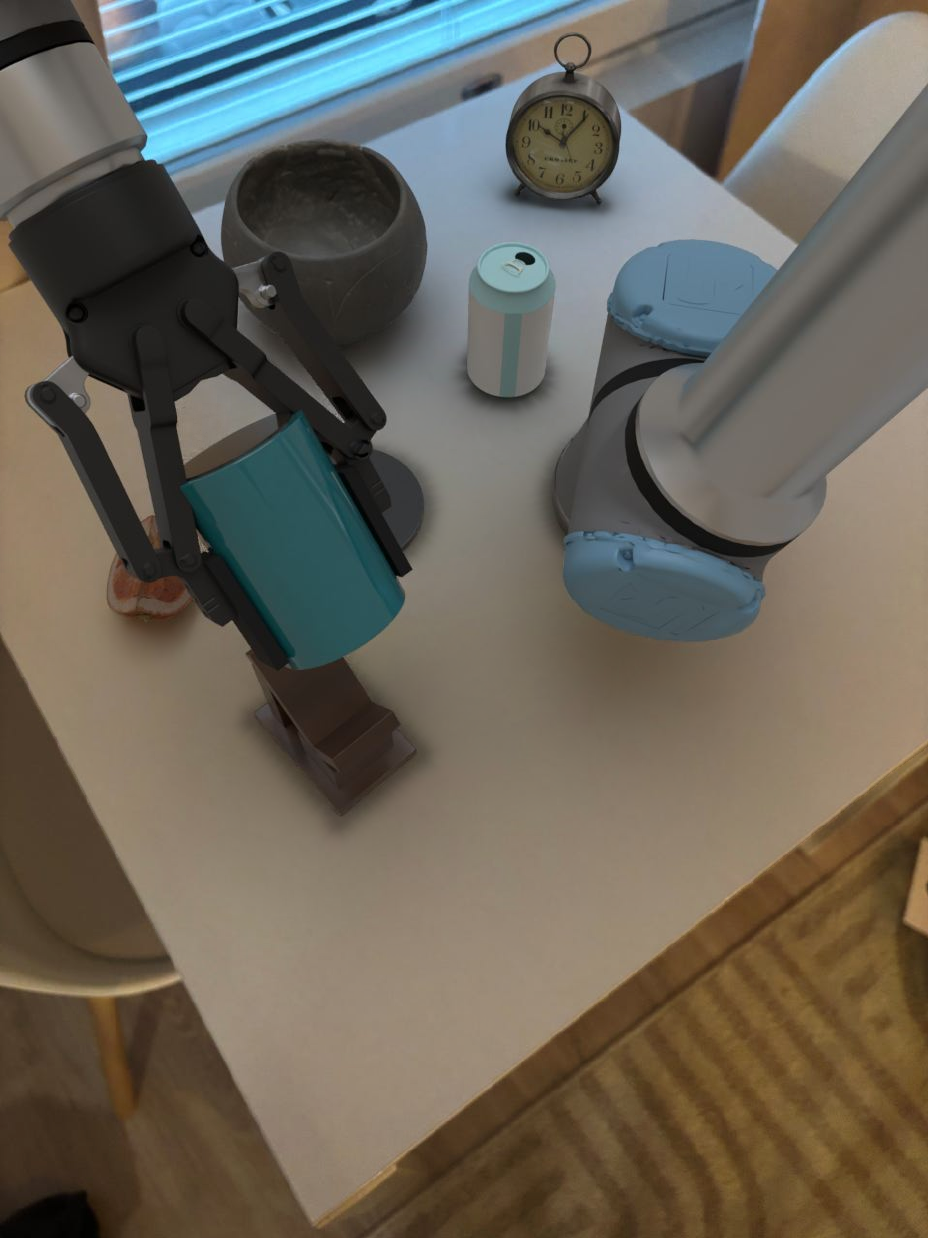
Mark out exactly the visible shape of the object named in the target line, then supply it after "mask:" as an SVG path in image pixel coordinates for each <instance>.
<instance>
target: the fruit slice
mask: <svg viewBox="0 0 928 1238" xmlns="http://www.w3.org/2000/svg"><path fill="white" fill-rule="evenodd" d="M140 522H141V524H142V526H143V528H144V530H145V532H146V534H147V536H148V538H149V540H150V542H151V544H152V547H153V549H157V548H161V543H160V539H159V534H158V529H157V524H156V519H155V514H151V515H149V516H147V517H145V519H143V520H140ZM192 600H193V599H192V597H191V596H190V594H189V593H188V591H187V590H186V589H185V587H184V586H183V584H182V583H181V581H180V580H179V579H178V577H177V576H168V577H165V578H161V579H158V580H157V581H155V582H152V583H145V582H143V581H141V580H139V579H137V578H135V577H133V576H131V575H130V574H128V573H127V572H126V570H125V568H124V566H123V564H122V562H121V560H120V558H119V556H118V554H117V552H115V555H114V558H113V560H112V563H111V566H110V569H109V573H108V577H107V583H106V602H107V606H108V607H109V609H111V611H113V612H114V613H116V614H119V615H123V616H125V617H129V618H133V619H137V620H144V621H145V622H146V623H147V622H148V621H164V620H167V619H170V618H171V617H173V616H175V615H177V614H178V613H180V612H181V611H182V610H184V609H185V608H186V607H187V606H188V605H189V604H190V602H191V601H192Z"/></svg>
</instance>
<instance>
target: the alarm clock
mask: <svg viewBox="0 0 928 1238" xmlns="http://www.w3.org/2000/svg"><path fill="white" fill-rule="evenodd" d="M571 37H577V38H580V39H581V40H582V41H584V43H585V44H586V46H587V56H586V57H585V59H584V61H582V62H581V63H579V64H577V65H576V64H575V63H574V62H572V61H568V62H567V63H564V62H563V61H561V60H560V59H559V56H558V48H559V45H560V44H561V42H563V40H565V39H566V38H571ZM553 55H554V59H555V61H557V63H558V64H559V65H560V66H561V67H562V68H564V70H565V71H556V72H552V73H551V72H550V73H548V74H545V75H542V76H541V77H539V78H537V79H536V80H534V81H533V82H531V83H530V84H528V86H526V87H525V89H524V90H523V91H522V92H521V94H520V95H518V98H517V100H516V102H515V103H514V105H513V108H512V111H511V114H510V118H509V123H508V127H507V131H506V135H505V145H504V146H505V147H504V148H505V155H506V159H507V163H508V165H509V168H510V169H511V171H512V173H513V175H514V177H515V178H516V179H517V181H519V183H520V184H519V185H518V187H517V188H516V189H514V190H513V195H514V196H515V197H519V196H520V194H521V192H522V191H524V190H525V189H527V190H528V191H530V192H532V193H533V194H535V195H537V196H539V197H541V198H544V199H549V200H553V201H572V200H577V199H581V198H584V197H586V196H588V195H590V196H591V197H592V198H593V199H594V200H595V204H596V205H597V206H601V205H602V203H603V200H602V198H601V197H600V196H599V193H598V191H597V190H598V189H600V187H602V186H603V185H604V184H605V183H606V182H607V181H608V179H609V178H610V177H611V176H612V173H613V172H614V170H615V168H616V165H617V162H618V160H619V154H620V144H621V137H622V118H621V113H620V109H619V106H618V104H617V103H616V100H615V98H614V97H613V95H612V94H611V93H610V91H609V90H608V89H607V88H606V87H605V86H604V85H603V84H602V83H601V82H600V81H598V80H596V78H593V77H591V76H589V75H587V74H583V73H580V72H576V70H577V69H581V68H583V67H584V66H586V64H587V63H588V62H589V60H590V58H591V55H592V45H591V42H590V40H589V39H588V37H586V36H585V35H584V34H582V33H580V32H576V31H571V32H566V33H564V34H562V35H561V36H560V37H559V38H558V39H557V40H556V41H555V42H554V46H553Z"/></svg>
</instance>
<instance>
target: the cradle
mask: <svg viewBox="0 0 928 1238" xmlns="http://www.w3.org/2000/svg"><path fill="white" fill-rule="evenodd" d="M244 655H245V656H246V657H247V659H248V660H249V662H250V663H251V667H252V669H253V671H254V674H255V676H256V678H257V681H258V683H259V686H260V688H261V691H262V693H263V695H264V697H265V700H266V703H265V704H264V705H262V706H261V707H260V708H258V709H257V710H256V711H254V712H253V716H254V718H255V719H256V720H257V721H258V722H259V725H261V726H262V728H264V729H265V731H266V732H267V733H268V734H269V735H270V736H271V738H272V739H273V740H274V741H275V742H276V744H277V745H278V746H279V747H280V748H281V749H282V750H283V751H284V753H285V754H286V755H287V756H288V757H289V759H290V760H291V761H292V762H293V763H294V765H295V766H296V767H297V768H298V769H299V771H301V772H302V773H303V775H304V776H305V777H306V778H307V779H308V780H309V782H310V783H311V784H312V786H313V787H314V788H315V789H316V790H317V792H319V793H320V794H321V796H322V797H323V798H324V799H325V801H327V803H328V804H329V805H330V806H331V808H333V810H334V811H335V812H336V813H337V814H338V815H339V816H340V817H342V816H343V815H344V814H345V813H347V812H348V811H349V810H350V809H351V808H352V807H354V806H355V805H356V804H357V803H358V802H360V801H361V800H363V798H365V797H366V796H367V795H368V794H369V793H371V792H372V791H373V790H374V789H375V788H377V787H378V786H379V785H380V784H381V783H383V782H385V780H386V779H387V778H389V777H390V776H391V775H392V774H393V773H395V772H396V771H397V770H398V769H399V768H401V767H402V766H403V765H404V764H405V763H407V762H408V761H409V760H410V759H411V758H413V757H414V756H415V755H416V754H417V748H416V747H415V746H414V744H412V743H411V742H410V740H408V739H407V737H406V736H405V735H404V734H403V733H402V732H401V731H400V730H399V729H398V728H399V727H400V726H401V725H402V723H401V722H400V721H399V719H398V717H397V715H396V714H395V712H394V711H393V710H392V709H389V708H387V707H385V706H383V705H381V704H379V703H377V702H375V701H373V700H372V699H371V697H370V696H369V694H368V692H367V691H366V689H365V687H363V685H362V683H361V682H360V680H359V678H358V677H357V675H356V674H355V672H354V671H353V669H352V668H351V666H350V665H349V663H348V662H347V660H346V659H345V656H344V657H342V658H340V659H337V660H335V661H333V662H330V663H328V664H325V665H322V666H319V667H315V668H310V669H304V670H294V669H290V668H287V667H285V666H284V667H283V668H281V669H280V670H279V671H277V670H275V669H273V668H272V667H270V666H268V665H266V664H264V663H263V662H261V661H259V659H258V658H257V656H256V655H255V653H254V652H253V650H252V649H251V648H250V649H249V650H247V651H246V652H245V653H244Z"/></svg>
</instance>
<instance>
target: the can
mask: <svg viewBox="0 0 928 1238" xmlns="http://www.w3.org/2000/svg"><path fill="white" fill-rule="evenodd" d="M556 287H557V283H556V277H555V275H554V273H553V271H552V269H551V267H550V261H549V260H548V258H547V256H546V255H545V253H544V252H542V251H541V250H540V249H539V248H537V247H536V246H532V245H531V244H528V243H524V242H519V241H506V242H499V243H497V244H494V245H492V246H490V247H488V248H487V249H486V250H484V251H483V252H481V255H479V258H478V259H477V263H476V265H475V266H474V267H473V269H472V270H471V272H470V274H469V278H468V304H467V305H468V307H467V308H468V309H467V310H468V311H467V352H466V355H467V356H466V357H467V358H466V369H467V370H466V371H467V374H468V377H469V379H470V381H471V382H472V383H473V385H475V386H476V387H477V388H478V389H479V390H481V391H482V392H484V393H486V394H489V395H491V396H495V397H500V398H515V397H521V396H524V395H527V394H529V393H530V392H533V391H534V390H535V389H536V388H538V387H539V386H540V385H541V383H542V382H543V380H544V378H545V374H546V370H547V369H546V368H547V362H548V361H547V360H548V353H549V346H550V345H549V343H550V336H551V329H552V322H553V321H552V320H553V312H554V303H555V295H556Z"/></svg>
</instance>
